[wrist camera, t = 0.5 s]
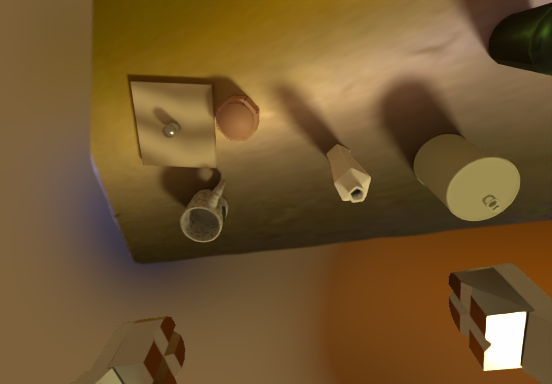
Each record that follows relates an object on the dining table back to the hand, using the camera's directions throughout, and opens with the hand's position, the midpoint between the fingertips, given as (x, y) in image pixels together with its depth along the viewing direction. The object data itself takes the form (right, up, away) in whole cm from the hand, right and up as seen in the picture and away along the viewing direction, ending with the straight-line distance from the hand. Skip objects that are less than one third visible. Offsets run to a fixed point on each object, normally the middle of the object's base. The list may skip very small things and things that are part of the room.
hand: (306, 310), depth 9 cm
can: (+26, +9, +42) cm, 50 cm away
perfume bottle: (+9, +9, +42) cm, 44 cm away
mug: (-12, +2, +46) cm, 47 cm away
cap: (-7, +15, +39) cm, 43 cm away
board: (-17, +14, +40) cm, 46 cm away
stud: (-17, +14, +39) cm, 45 cm away
